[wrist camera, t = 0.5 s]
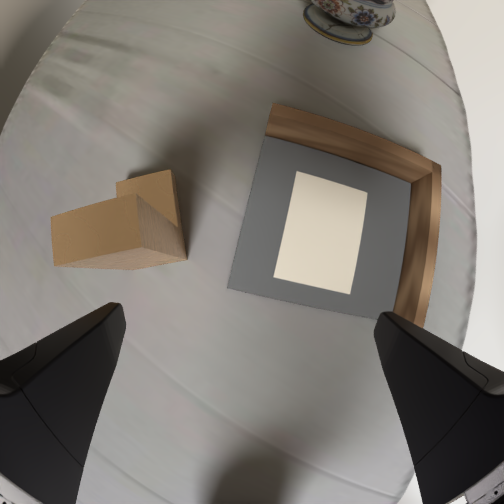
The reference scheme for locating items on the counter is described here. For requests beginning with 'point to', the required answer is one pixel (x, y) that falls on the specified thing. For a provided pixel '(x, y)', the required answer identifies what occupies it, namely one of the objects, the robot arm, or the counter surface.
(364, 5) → the apothecary jar
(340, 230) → the mat
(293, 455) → the counter surface
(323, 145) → the corner walls
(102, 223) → the wooden l-shaped block
